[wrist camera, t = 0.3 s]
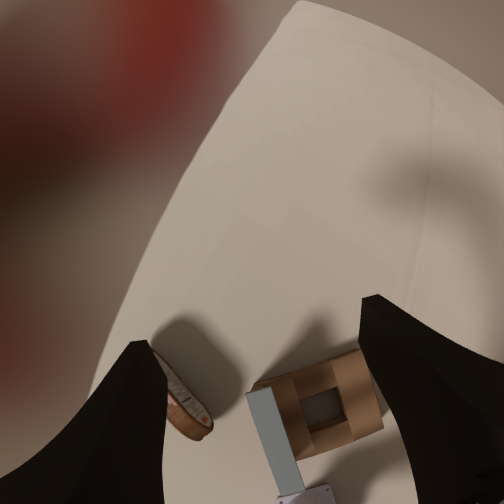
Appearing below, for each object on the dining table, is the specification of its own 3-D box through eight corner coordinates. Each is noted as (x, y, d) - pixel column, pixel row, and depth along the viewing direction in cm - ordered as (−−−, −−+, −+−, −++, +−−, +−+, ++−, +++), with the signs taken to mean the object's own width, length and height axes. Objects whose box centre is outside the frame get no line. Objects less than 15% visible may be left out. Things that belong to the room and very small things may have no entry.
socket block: (377, 425, 33) (409, 448, 22) (280, 460, 32) (281, 496, 22) (354, 345, 37) (382, 345, 26) (253, 380, 36) (245, 394, 26)
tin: (139, 352, 39) (110, 353, 31) (154, 340, 39) (127, 338, 31) (206, 432, 35) (190, 451, 27) (223, 419, 35) (210, 438, 27)
